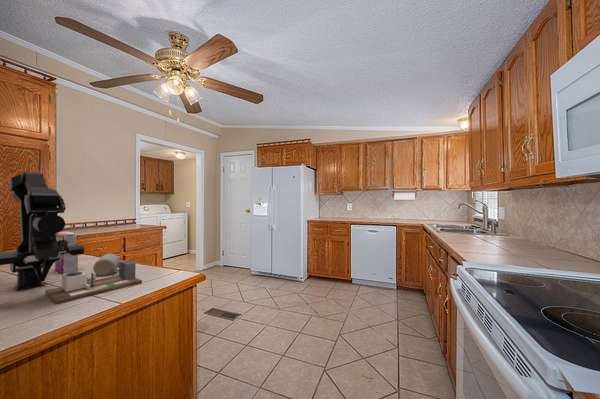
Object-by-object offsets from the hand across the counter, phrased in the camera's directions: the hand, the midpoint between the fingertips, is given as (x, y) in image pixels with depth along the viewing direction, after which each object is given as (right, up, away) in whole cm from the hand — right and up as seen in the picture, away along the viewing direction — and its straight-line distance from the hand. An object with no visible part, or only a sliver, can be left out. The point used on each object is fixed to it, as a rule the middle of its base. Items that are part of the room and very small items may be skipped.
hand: (42, 281), depth 75 cm
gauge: (+7, -4, +6) cm, 10 cm away
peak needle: (+11, -4, +5) cm, 13 cm away
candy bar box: (-20, -5, +28) cm, 34 cm away
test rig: (+9, -6, +9) cm, 14 cm away
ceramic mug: (+1, -6, +26) cm, 27 cm away
